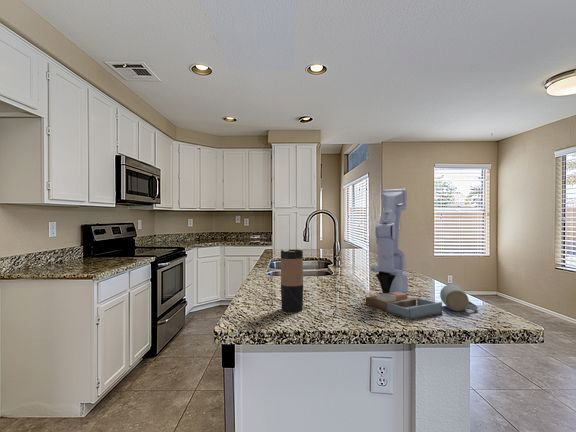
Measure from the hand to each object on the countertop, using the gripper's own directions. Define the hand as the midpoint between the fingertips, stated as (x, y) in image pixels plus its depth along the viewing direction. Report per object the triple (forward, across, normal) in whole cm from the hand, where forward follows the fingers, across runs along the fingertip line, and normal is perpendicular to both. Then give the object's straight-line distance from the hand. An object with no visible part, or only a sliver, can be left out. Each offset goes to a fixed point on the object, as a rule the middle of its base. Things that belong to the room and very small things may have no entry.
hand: (385, 293), depth 121 cm
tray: (+3, +15, -2) cm, 16 cm away
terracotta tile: (0, +6, 0) cm, 6 cm away
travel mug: (+3, -7, -36) cm, 36 cm away
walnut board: (+3, +5, -2) cm, 6 cm away
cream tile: (0, +6, -6) cm, 8 cm away
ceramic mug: (+3, +19, +14) cm, 24 cm away
